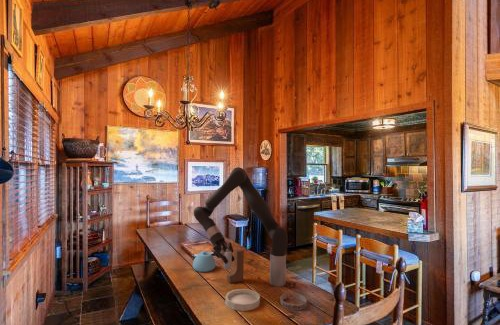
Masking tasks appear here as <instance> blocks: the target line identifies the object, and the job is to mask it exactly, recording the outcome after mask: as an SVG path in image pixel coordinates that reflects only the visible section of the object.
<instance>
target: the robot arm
mask: <svg viewBox="0 0 500 325" xmlns="http://www.w3.org/2000/svg"><path fill="white" fill-rule="evenodd" d="M238 187H239V188H240V190H241V191H242V193H243V195H244V198H245V201H246V202H247V203H246V204H247V205H248V206H249V208H250V210H251V211H252V213H253V214H254V215H255V217H256V218H257V219H258V220H259V221H260V223H261V224H262V225H263V227H264V228H265V230H266V232H267V234H268V236H269V237H270V239H271V248H270V250H269V284H270V285H271V286H274V287H283V286H286V283H287V266H286V264H287V263H286V262H287V258H286V257H287V254H286V253H287V250H288V232H287V230H286V229H285V228H283V227H282V226H281V225H280V224H279V223H278V221H276V220H275V218H274V217H273V215H272V213H271V210H270V208H269V206H268V204H267V202H266V201H265V199H264V198H263V197H262V195H261V194H260V193H259V191H258V190H257V188H256V187H255V186H254V184H253V183H252V181H251V179H250V177H249V175H248V173H247V172H246V170H245V169H243V167H240V166H238V167H237V166H236V167H234V168H233V169H232V171H231V172H230V174H229V176H228V177H227V178H226V180H225V181H224V183H223V184H222V185H221V186H220V187H219V188H218V189H216V190H215V191H214V192H212V194H210V196H208V198H207V199H206V200H205V201H204V202H205V206H197V207H195V208H194V209H193V216H194V218H195V219H196V221H197V222H198V223H199V224H200V225H201V226H202V228H203V230H204V231H205V233H206V236H207V238H208V240H209V241H210V244H211V245H212V246H213V247H212V249H211V252H212V253H213V255H215V257H217V259H221V260H222V261H223V264H224V263H225V264H227V263H228V260H227V258H226V257H225V256H224V251H231V252H232V263H234V260H235V258H234V250H235V249H233V244H232V243H231V242H229V243H227V242H226V240H225V239H226V238H225V237H224V235H223V233H222V232H221V230H220V228H219V227H218V226H217V224H216V222H215V221H214V219H213V218H211V216H212V213H214V211H215V209H216V208H217V207H218V206H219V205H220V204H221V203H222V202H223V201H224V200H225V198H226V197H227V196H228V195H229V194H230V193H231V192H233V191H234V190H235V189H237V188H238Z"/></svg>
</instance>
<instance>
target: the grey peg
mask: <svg viewBox="0 0 500 325" xmlns="http://www.w3.org/2000/svg"><path fill="white" fill-rule="evenodd" d="M232 255H233V253H232V252H231V251H227V250H226V251H224V256H225V257H226V258H227V260H228V263H227V264H225V263H224V262H223V270H225V271H230V270H233V268H232V267H233V265H232V263H233V262H232Z"/></svg>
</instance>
